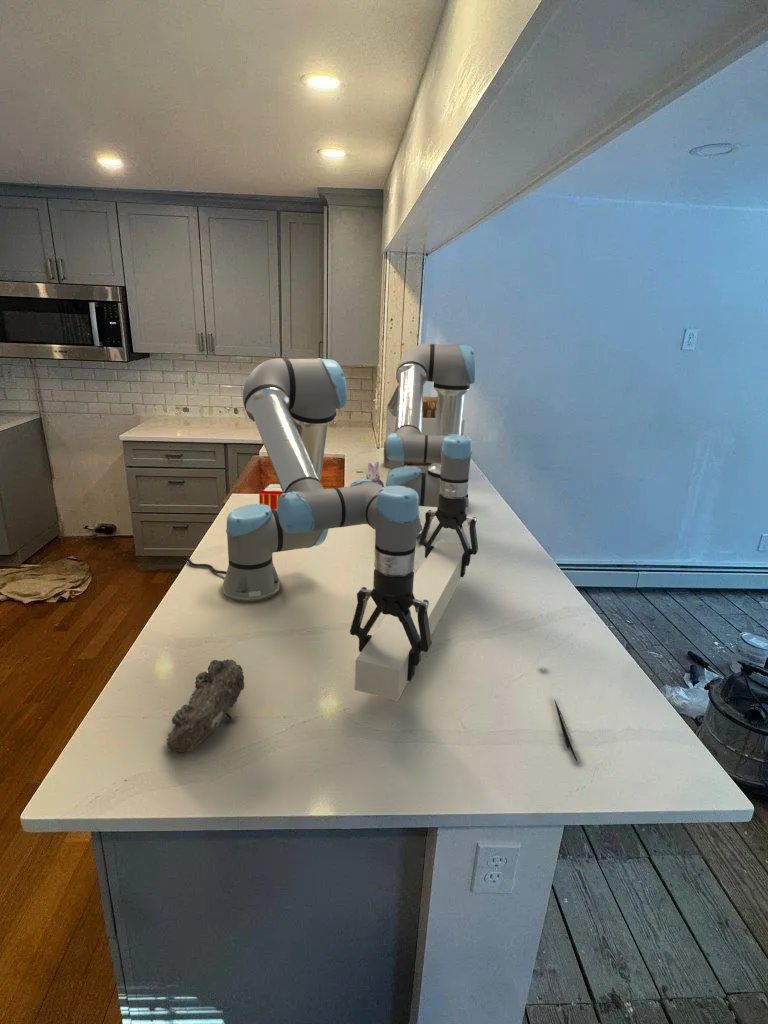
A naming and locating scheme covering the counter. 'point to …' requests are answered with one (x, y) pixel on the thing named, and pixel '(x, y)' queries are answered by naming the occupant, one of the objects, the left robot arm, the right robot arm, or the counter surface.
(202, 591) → the counter surface
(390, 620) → the wide beam
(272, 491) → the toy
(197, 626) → the counter surface
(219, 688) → the fossil
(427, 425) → the transformer
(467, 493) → the figurine character
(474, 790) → the counter surface
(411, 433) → the right robot arm
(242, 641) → the counter surface
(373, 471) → the figurine
